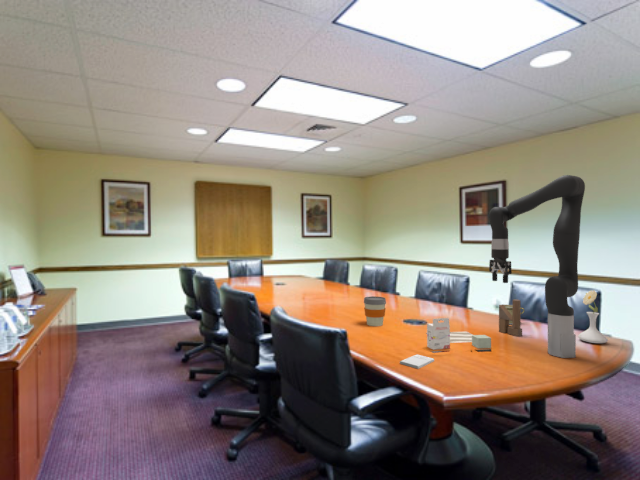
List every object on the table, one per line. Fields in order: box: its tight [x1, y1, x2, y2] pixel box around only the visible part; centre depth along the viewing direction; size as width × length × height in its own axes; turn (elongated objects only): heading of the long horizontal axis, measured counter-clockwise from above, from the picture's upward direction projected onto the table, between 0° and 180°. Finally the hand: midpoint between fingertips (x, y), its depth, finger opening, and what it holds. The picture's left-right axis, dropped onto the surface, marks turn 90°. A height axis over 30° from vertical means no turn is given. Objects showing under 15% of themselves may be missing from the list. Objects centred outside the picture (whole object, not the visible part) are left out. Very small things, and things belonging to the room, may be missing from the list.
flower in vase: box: [578, 289, 609, 344], centre depth 173 cm, size 13×11×25 cm
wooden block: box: [498, 298, 523, 337], centre depth 189 cm, size 4×11×18 cm, turn 28°
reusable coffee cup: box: [363, 296, 387, 327], centre depth 210 cm, size 13×12×15 cm
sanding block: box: [471, 334, 492, 353], centre depth 162 cm, size 5×6×6 cm
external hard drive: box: [399, 354, 435, 370], centre depth 146 cm, size 2×8×12 cm
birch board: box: [425, 331, 474, 344], centre depth 177 cm, size 18×22×2 cm
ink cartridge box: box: [426, 317, 451, 354], centre depth 161 cm, size 9×5×15 cm, turn 105°
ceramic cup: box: [503, 304, 525, 326], centre depth 211 cm, size 13×10×10 cm
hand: (499, 281), depth 177 cm, fingers open, 8 cm apart
